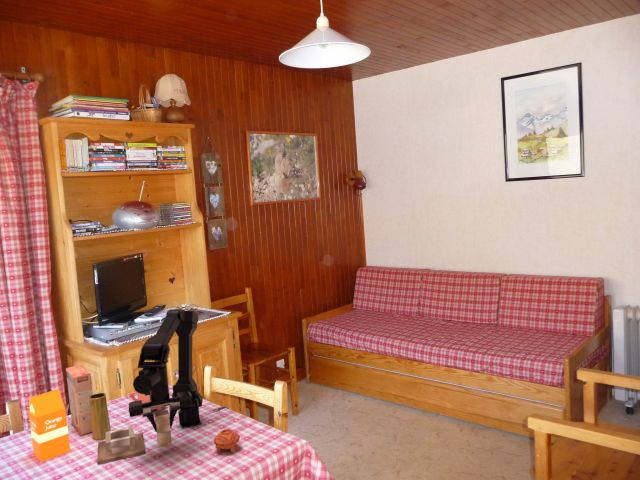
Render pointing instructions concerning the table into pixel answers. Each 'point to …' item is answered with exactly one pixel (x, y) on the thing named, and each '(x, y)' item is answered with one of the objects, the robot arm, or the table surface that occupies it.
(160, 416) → the peg
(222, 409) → the table surface
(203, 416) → the table surface
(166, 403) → the robot arm
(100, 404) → the vase
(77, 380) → the cracker box
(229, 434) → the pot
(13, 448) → the table surface
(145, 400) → the teapot
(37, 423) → the orange juice
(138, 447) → the well
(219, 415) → the table surface
